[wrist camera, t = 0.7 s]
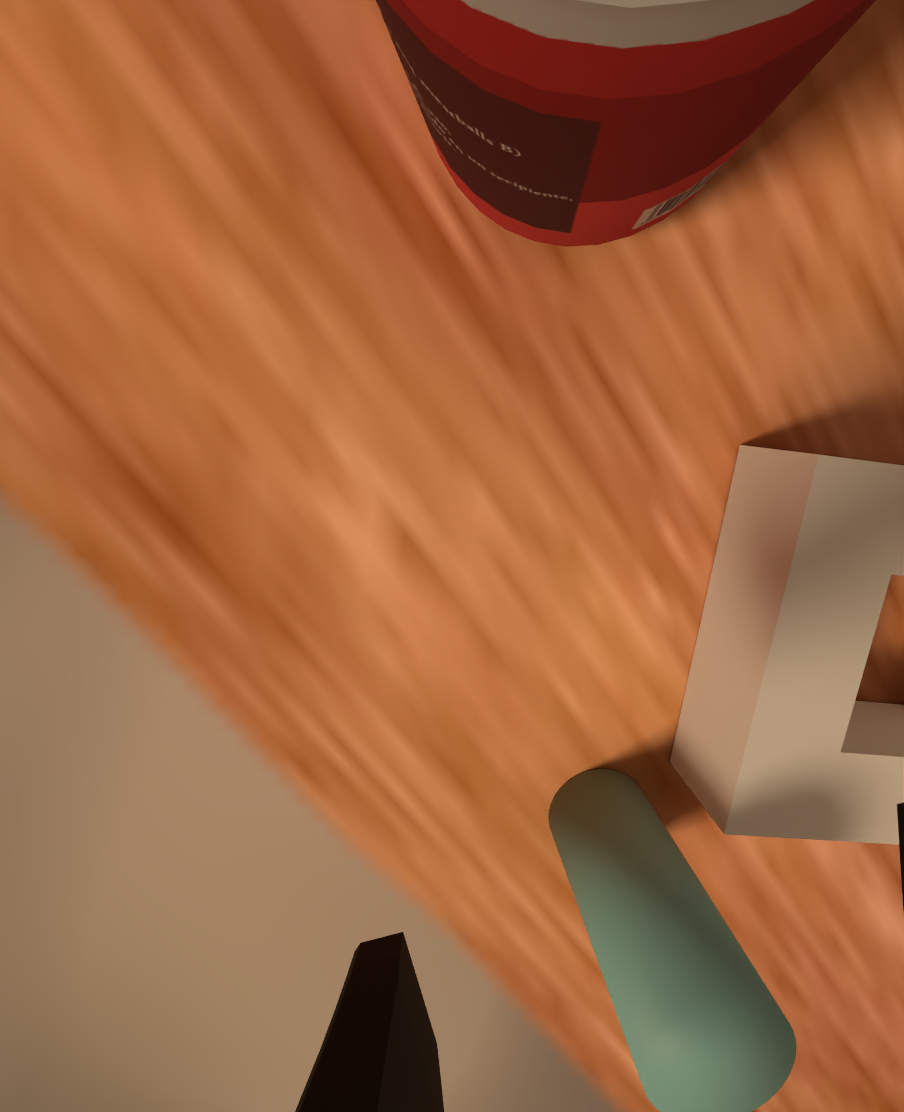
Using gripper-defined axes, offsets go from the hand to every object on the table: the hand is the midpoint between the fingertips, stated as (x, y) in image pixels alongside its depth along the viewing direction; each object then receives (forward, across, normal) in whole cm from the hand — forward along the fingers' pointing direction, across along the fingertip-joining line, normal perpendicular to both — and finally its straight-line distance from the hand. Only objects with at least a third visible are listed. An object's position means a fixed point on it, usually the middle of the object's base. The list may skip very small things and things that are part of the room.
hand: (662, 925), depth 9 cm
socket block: (+10, -10, +2) cm, 15 cm away
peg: (+10, -1, +6) cm, 12 cm away
